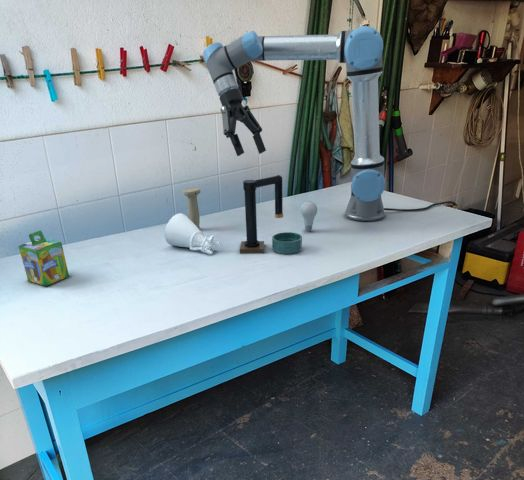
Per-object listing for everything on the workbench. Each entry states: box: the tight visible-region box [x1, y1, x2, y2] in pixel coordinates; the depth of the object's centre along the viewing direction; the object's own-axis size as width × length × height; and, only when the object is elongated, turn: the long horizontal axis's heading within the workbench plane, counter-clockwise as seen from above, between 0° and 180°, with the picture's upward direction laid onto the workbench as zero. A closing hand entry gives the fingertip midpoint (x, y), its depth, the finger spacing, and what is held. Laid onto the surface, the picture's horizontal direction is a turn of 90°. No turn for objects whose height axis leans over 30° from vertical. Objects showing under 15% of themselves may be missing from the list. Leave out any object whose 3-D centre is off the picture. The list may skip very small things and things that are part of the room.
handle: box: [182, 187, 201, 230], centre depth 196 cm, size 5×6×15 cm
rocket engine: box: [164, 212, 221, 256], centre depth 179 cm, size 12×12×18 cm
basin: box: [271, 231, 303, 255], centre depth 177 cm, size 10×10×4 cm
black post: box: [239, 189, 265, 254], centre depth 175 cm, size 8×8×20 cm
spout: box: [242, 174, 284, 219], centre depth 175 cm, size 16×4×14 cm, turn 128°
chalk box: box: [17, 230, 70, 287], centre depth 158 cm, size 9×9×15 cm
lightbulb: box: [300, 201, 318, 232], centre depth 192 cm, size 6×6×11 cm
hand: (252, 153), depth 182 cm, fingers open, 13 cm apart
